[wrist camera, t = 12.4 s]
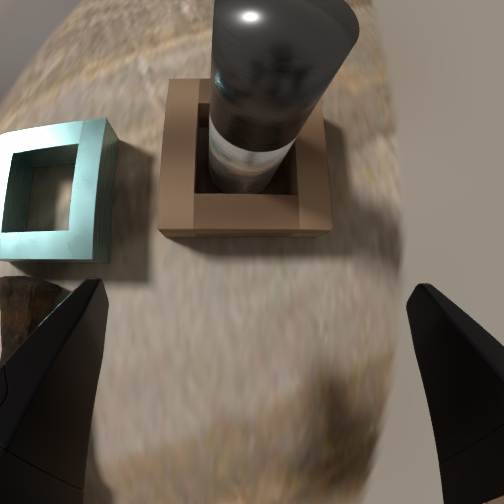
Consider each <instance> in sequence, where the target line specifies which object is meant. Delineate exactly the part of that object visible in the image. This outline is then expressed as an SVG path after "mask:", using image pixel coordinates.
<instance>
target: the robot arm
mask: <svg viewBox="0 0 504 504" xmlns="http://www.w3.org/2000/svg"><path fill="white" fill-rule="evenodd" d="M108 308H109V302H108V297H107V294H106V291H105V287H104V284H103V281H102V280H101V279H99V278H87V279H85V280H84V281H83V282H82V283H81V284H80V285H79V286H78V287H77V288H76V289H75V290H74V291H73V292H72V293H71V294H70V295H68V296H67V297H66V298H65V299H64V300H63V301H62V302H61V303H60V304H59V305H58V306H57V307H56V308H55V309H54V310H53V311H52V312H51V313H50V314H49V316H48V317H47V318H46V319H45V320H44V321H43V322H42V323H41V324H40V325H39V326H38V327H37V328H36V329H35V330H34V331H33V332H32V333H31V334H30V335H29V336H28V338H27V339H26V340H25V341H24V342H23V343H22V344H21V345H20V346H19V347H18V348H17V350H16V351H15V352H14V353H13V354H12V355H11V356H10V357H9V358H8V360H7V361H6V362H5V365H2V366H1V367H0V504H83V497H84V491H83V490H84V480H85V469H86V459H87V450H88V442H89V434H90V427H91V420H92V414H93V407H94V401H95V396H96V390H97V385H98V379H99V374H100V369H101V364H102V358H103V351H104V341H105V332H106V324H107V316H108ZM406 309H407V314H408V319H409V324H410V329H411V334H412V340H413V345H414V350H415V354H416V358H417V362H418V366H419V369H420V373H421V377H422V381H423V385H424V389H425V394H426V397H427V402H428V407H429V412H430V416H431V421H432V426H433V431H434V437H435V442H436V448H437V454H438V460H439V468H440V475H441V483H442V492H443V501H444V504H483V503H486V504H504V346H503V345H502V344H500V343H499V342H498V341H497V340H496V339H495V338H494V337H493V336H492V335H491V334H490V333H488V332H487V331H486V330H485V329H484V328H483V327H482V326H480V325H479V324H478V323H477V322H476V321H475V320H473V319H472V318H471V317H470V316H469V315H468V314H466V313H465V312H464V311H463V310H462V309H460V308H459V307H458V306H457V305H456V304H454V303H453V302H452V301H451V300H450V299H448V298H447V297H446V296H445V295H443V294H442V293H441V292H440V291H438V290H437V289H436V288H435V287H434V286H432V285H431V284H428V283H422V284H418V285H417V286H416V287H415V289H414V291H413V292H412V294H411V296H410V298H409V299H408V301H407V305H406Z"/></svg>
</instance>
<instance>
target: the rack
mask: <svg viewBox="0 0 504 504" xmlns="http://www.w3.org/2000/svg"><path fill="white" fill-rule="evenodd" d="M210 80H211V79H170V80H169V87H168V95H167V104H166V112H165V122H164V132H163V143H162V155H161V168H160V184H159V203H158V230H159V231H160V232H161V233H162V234H163V235H164V236H165V237H307V238H315V237H317V236H319V235H322V234H324V233H326V232H329V231H331V230H332V214H331V198H330V184H329V172H328V161H327V150H326V140H325V131H324V122H323V114H322V106H321V99H320V100H319V102H318V103H317V105H316V107H315V108H314V110H313V111H312V113H311V115H310V116H309V118H308V120H307V121H306V123H305V124H304V126H303V128H302V129H301V131H300V133H299V134H298V136H297V137H296V139H295V141H294V142H293V144H292V146H291V147H290V149H289V151H288V152H287V154H286V155H285V157H284V159H283V160H284V182H285V195H270V194H197V165H198V141H199V127H209V114H210Z"/></svg>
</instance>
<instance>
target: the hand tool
mask: <svg viewBox="0 0 504 504" xmlns="http://www.w3.org/2000/svg"><path fill="white" fill-rule="evenodd" d="M60 291H61V288H60V286H59V285H56V284H53V283H50V282H48V281H44V280H40V279H36V278H31V277H26V276H4V277H1V278H0V310H1V343H2V352H1V359H0V367H1V366H2V365H5V362H6V361H7V360H8V358H9V357H10V356H11V355H12V354H13V353H14V352H15V351H16V350H17V348H18V347H19V346H20V345H21V344H22V343H23V342H24V341H25V340H26V339H27V338H28V336H29V335H30V334H31V333H32V332H33V331H34V330H35V329H36V328H37V327H38V326H39V325H40V324H41V323H42V322H43V321H44V320H45V319H46V318H47V317H48V316H49V314H50V313H51V312H52V304H53V301H54V298H55V296H56V295H57V294H58V293H59V292H60Z"/></svg>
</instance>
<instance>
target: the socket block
mask: <svg viewBox="0 0 504 504" xmlns="http://www.w3.org/2000/svg"><path fill="white" fill-rule="evenodd" d="M118 142H119V138H118V137H117V135H116V133H115V132H114V130H113V128H112V127H111V125H110V123H109V122H108V120H107V118H101V119H92V120H84V121H76V122H68V123H62V124H55V125H49V126H43V127H37V128H32V129H26V130H21V131H16V132H12V133H7V134H3V135H1V138H0V261H5V262H57V263H110V230H111V212H112V198H113V187H114V176H115V167H116V158H117V150H118ZM73 163H76V165H75V172H74V180H73V188H72V197H71V207H70V219H69V231H40V232H26V224H27V213H28V204H29V196H30V188H31V182H32V175H33V169H34V168H37V167H45V166H54V165H63V164H73Z"/></svg>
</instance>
